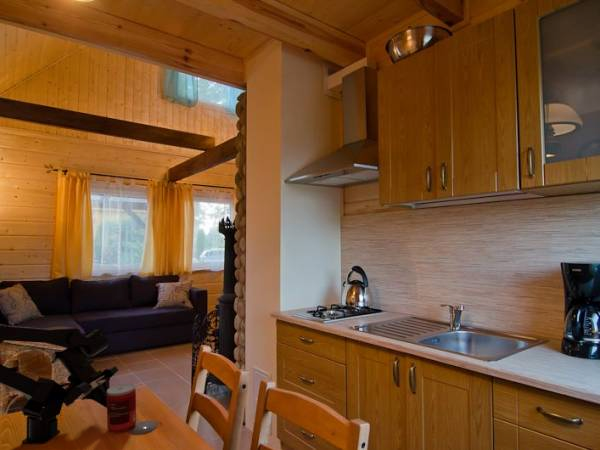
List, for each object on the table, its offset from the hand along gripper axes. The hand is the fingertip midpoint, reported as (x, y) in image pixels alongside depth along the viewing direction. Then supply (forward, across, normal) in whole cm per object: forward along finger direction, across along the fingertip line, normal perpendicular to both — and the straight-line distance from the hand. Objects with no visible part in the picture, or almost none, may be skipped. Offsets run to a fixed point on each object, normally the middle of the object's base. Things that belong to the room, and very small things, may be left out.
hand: (110, 407), depth 112 cm
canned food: (+7, +1, 0) cm, 7 cm away
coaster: (+11, +1, +5) cm, 12 cm away
